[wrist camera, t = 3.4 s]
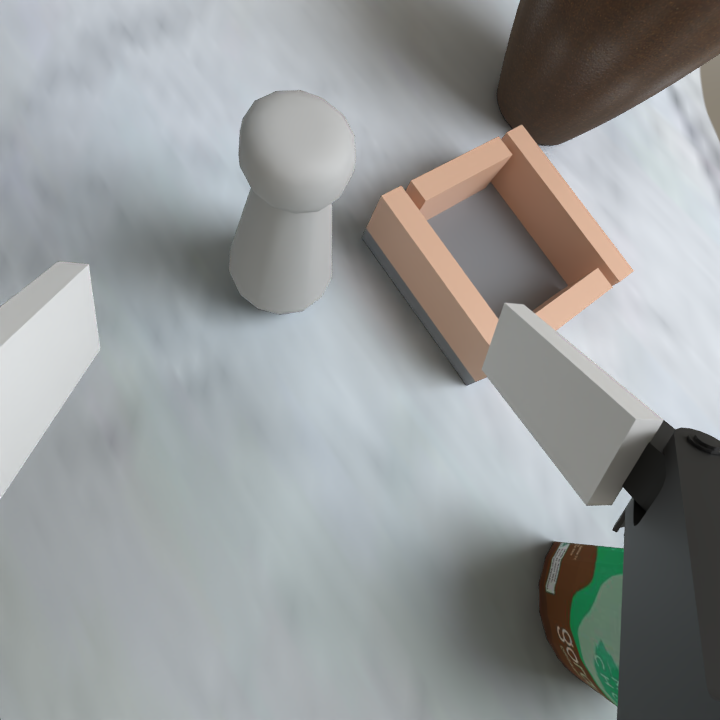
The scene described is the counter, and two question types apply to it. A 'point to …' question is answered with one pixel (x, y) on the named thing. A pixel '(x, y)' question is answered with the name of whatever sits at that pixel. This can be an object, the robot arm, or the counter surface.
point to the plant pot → (598, 59)
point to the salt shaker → (289, 199)
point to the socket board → (491, 246)
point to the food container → (584, 611)
